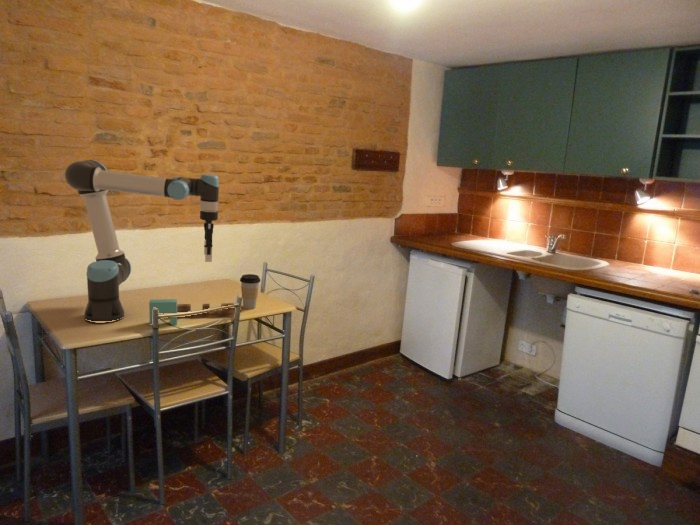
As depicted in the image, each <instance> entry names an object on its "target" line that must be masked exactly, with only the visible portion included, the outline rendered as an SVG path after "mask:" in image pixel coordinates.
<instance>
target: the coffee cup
mask: <svg viewBox="0 0 700 525" xmlns="http://www.w3.org/2000/svg"><path fill="white" fill-rule="evenodd" d="M239 282H240V284H241V285H240V287H241V298H242V308H243V309H245V308H246V309H245V310H253V309H252V308H254V309H256V307H257V306H256V305H257V300H258V294H259V287H260V286H259V285H260V284H259V283H260V282H261V278H260V276H259V275H257V274H253V273H252V274H251V273H245V274H243V275H242V276H241V277H240V278H239Z"/></svg>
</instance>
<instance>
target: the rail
mask: <svg viewBox="0 0 700 525" xmlns="http://www.w3.org/2000/svg"><path fill="white" fill-rule="evenodd" d="M228 305H234V306H235V303H234V302H231V303H230V302H229V303H228V302H227V303H226V302H225V303H224V302H223V303H221V304H220V308H221V307H222V306H228ZM191 306H192V305H191V303H177V312H188V311H191V312H192V309H191ZM201 308H202V310H204V309H208V308H210V309H211V305H210V303H202V307H201ZM202 310H201V311H202ZM211 311H212V312H207V313H202V314H197V315H191V316H185V317H177V319H198V318H199V319H200V318H201V319H204V318H206V319H207V318H234V317H235V307H234V308H228V309H222V310H221V309H220V310H211Z"/></svg>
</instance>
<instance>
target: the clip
mask: <svg viewBox="0 0 700 525" xmlns="http://www.w3.org/2000/svg"><path fill="white" fill-rule="evenodd" d="M148 304H149V305H148V306H149V308H148V309H149V311H148V312H149V313H148V314H149V325H150V324H152V309H153V307H156V308H158V310H159V313H163V314H164V313H177V304H178V299H177V298H176V299H175V298H174V299H172V298H169V299H168V298H165V299H161V298H160V299H159V298H157V299H155V298H154V299H153V298H152V299H149V303H148ZM169 319H170V320H169V322H170V323H169V325H170V324H171V325H170V326H177V325H178V318H177V317H170V316H169Z"/></svg>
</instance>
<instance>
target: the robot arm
mask: <svg viewBox="0 0 700 525" xmlns="http://www.w3.org/2000/svg"><path fill="white" fill-rule="evenodd" d="M64 179H65V181H66V183H67V184H68V186H70V188H73V189H74V190H76V191H77V193H78V196H79V197H81V198H83V200H84V204H85V208H86V212H87V215H88V220H89V222H90V228H91V230H92V235H93V238H94V242H95V246H96V250H97V255H96V256H95V257H94V258H95V260H96V261H92V262H91V263H89V264H88V266H87V267H86V281H87V297H88V298H87V299H88V301H87V303H86V304H87V305H86V306H85V311H84V317H83V318H85V319H87V320H91V321H112V320H117V319H120V318H122V317H124V318H125V311H124V310H125V309H124V308H123V306H122V305H123V304H122V302H121V299H120V286H121V285H122V283H124V282H125V281H127V280H128V278H129V277H130V275H131V272H132V264H131V263H130V261H129V260H128V258H126V254H125V252H124V250H121V249H120V246H119V241H118V237H117V234H116V230H115V225H114V222H113V219H112V218H113V217H112V214H111V211H110V206H109V202H108V198H107V194H108V192H109V191H112V192H121V193H128V194H129V193H130V194H138V195H147V196H154V197H162V198H170V199H173V200H175V201H180V200H184V199H186V198H187V197H188V196H192V197H200V200H199V202H200V204H199V209H200V210H199V211H200V212H199V218H200V220H202V221H204V223H203V228H204V245H203V248H204V250H203V251H204V252H203V255H204V256H205V257H204V258H205V259H204V262H205V263H210V262H211V263H213V262H212V261H213V260H212V258H213V235H214V234H213V233H214V228H215V227H214V226H215V225H214V223H213V221H217V220H218V219H219V217H218V216H219V212H218V211H219V206H221V205H220V203H219V192H220V190H219V188H220V183H219V181H220V180H219V176H218V175H216V174H207V173H206V174H201V175H200V178H194V177H193V178H192V177H191V178H190V177H183V176H173V177H172V178H167V177H166V178H165V177H159V176H158V177H156V176H151V175H150V176H149V175H142V174H134V173H128V172H127V173H126V172H125V173H124V172H118V171H111V170H110V171H109V170H108V169H107V167H106V166H105V165H104V164H103V163H101V162H100V161H97V160H94V159H84V160H78V161H74V162H72V163H70V164H69V165H68V166H67V167H66V168H65V172H64ZM85 319H84V320H85Z"/></svg>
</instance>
